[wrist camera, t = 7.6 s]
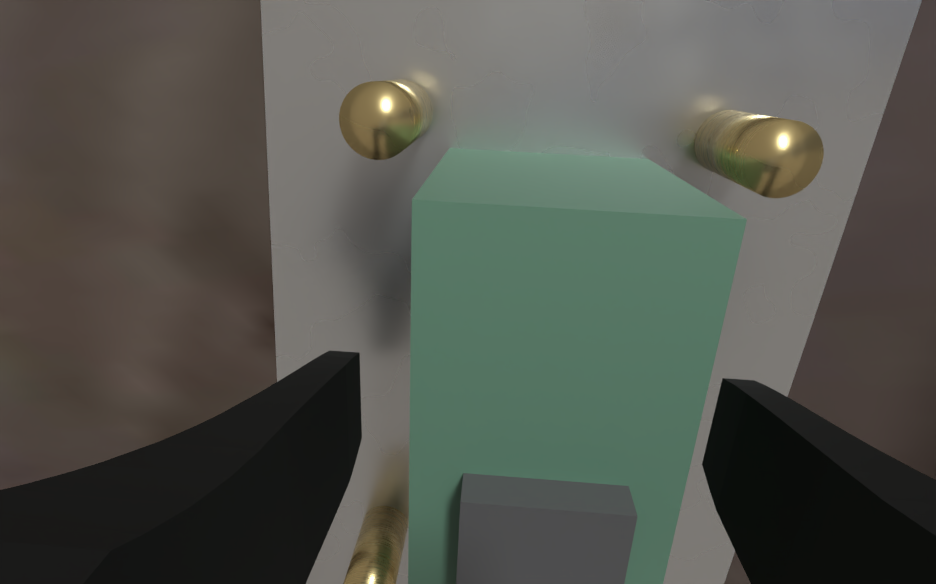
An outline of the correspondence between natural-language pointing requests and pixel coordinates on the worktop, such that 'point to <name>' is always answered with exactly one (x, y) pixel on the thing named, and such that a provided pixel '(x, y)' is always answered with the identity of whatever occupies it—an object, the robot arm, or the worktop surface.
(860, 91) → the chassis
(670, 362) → the green block
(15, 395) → the worktop surface
